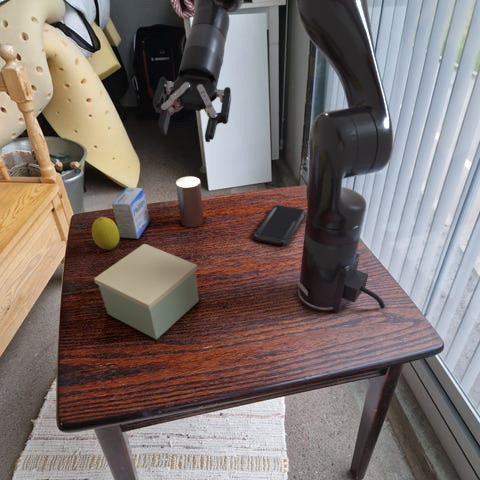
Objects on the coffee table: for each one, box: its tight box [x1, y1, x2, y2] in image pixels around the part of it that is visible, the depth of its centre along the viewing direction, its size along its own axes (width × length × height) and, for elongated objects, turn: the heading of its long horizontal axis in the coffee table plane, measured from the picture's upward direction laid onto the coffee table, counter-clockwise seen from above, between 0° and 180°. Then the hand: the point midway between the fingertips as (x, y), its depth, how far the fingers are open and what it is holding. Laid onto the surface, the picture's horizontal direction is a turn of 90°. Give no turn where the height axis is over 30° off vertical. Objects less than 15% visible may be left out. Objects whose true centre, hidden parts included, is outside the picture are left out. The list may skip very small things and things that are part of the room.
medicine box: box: [111, 186, 151, 240], centre depth 95 cm, size 8×4×9 cm, turn 168°
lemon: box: [91, 216, 121, 251], centre depth 90 cm, size 6×6×8 cm
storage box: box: [93, 243, 200, 340], centre depth 76 cm, size 13×13×8 cm
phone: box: [253, 204, 305, 247], centre depth 98 cm, size 8×1×15 cm
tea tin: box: [175, 176, 204, 228], centre depth 97 cm, size 5×5×10 cm
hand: (185, 136), depth 79 cm, fingers open, 8 cm apart
